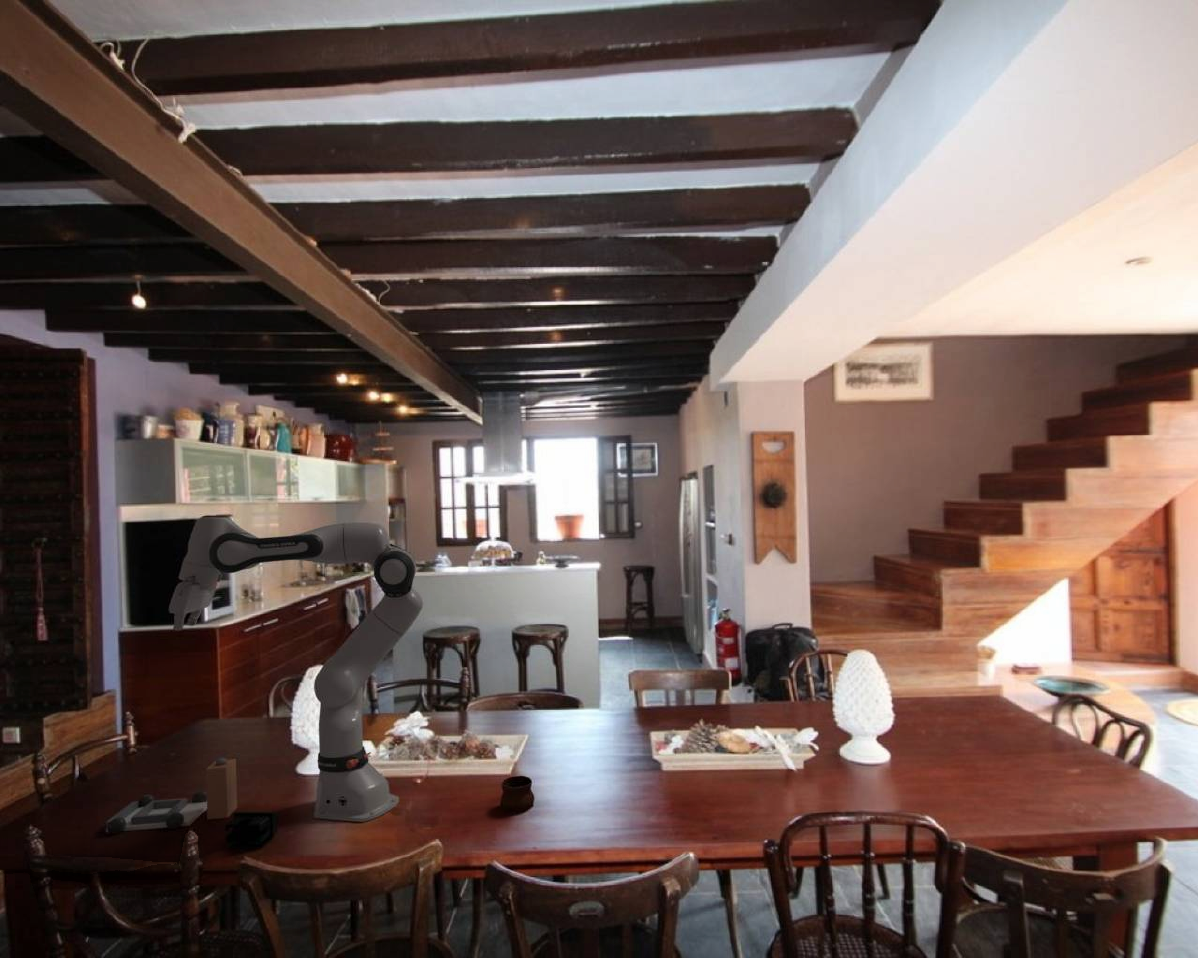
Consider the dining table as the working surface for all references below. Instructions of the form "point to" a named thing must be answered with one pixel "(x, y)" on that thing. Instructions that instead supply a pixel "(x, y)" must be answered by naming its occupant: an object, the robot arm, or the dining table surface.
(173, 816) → the chassis
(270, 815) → the end cap
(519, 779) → the ceramic pot
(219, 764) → the tall wooden block
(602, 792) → the dining table surface
